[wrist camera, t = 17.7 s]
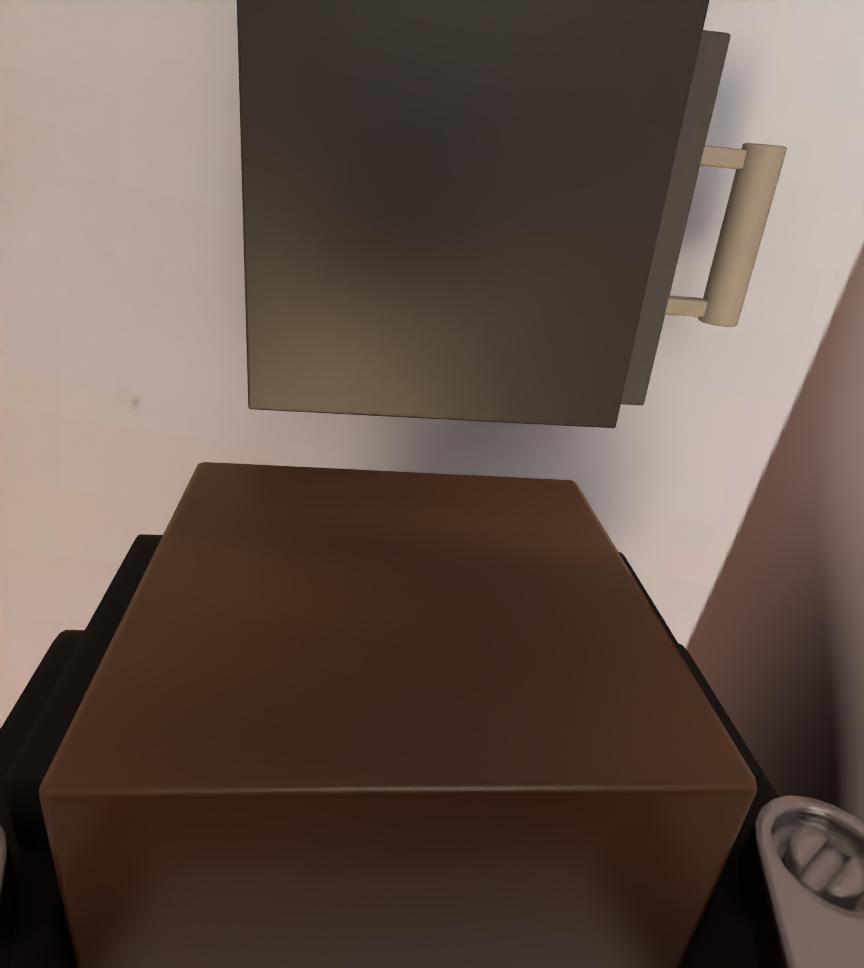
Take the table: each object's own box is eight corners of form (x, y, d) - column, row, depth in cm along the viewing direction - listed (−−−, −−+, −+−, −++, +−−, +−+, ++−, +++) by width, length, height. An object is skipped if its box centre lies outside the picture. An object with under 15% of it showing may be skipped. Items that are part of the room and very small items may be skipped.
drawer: (745, 69, 26) (858, 48, 20) (673, 359, 31) (747, 411, 25) (335, 20, 24) (325, -18, 18) (328, 336, 29) (318, 387, 23)
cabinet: (611, 37, 26) (711, -3, 18) (556, 359, 31) (615, 429, 24) (274, -4, 25) (234, -66, 17) (277, 341, 30) (247, 409, 22)
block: (214, 743, 11) (114, 1154, 7) (197, 458, 9) (30, 791, 4) (519, 743, 12) (617, 1120, 7) (576, 477, 9) (766, 785, 5)
